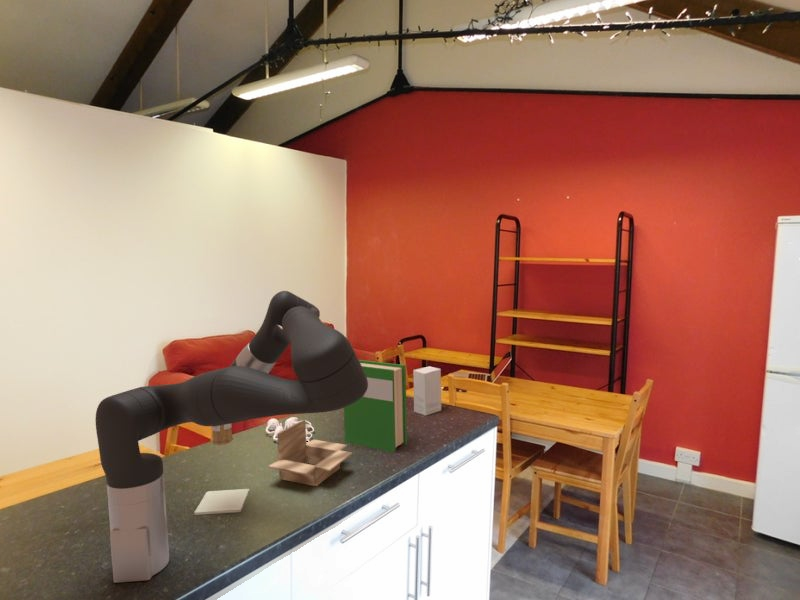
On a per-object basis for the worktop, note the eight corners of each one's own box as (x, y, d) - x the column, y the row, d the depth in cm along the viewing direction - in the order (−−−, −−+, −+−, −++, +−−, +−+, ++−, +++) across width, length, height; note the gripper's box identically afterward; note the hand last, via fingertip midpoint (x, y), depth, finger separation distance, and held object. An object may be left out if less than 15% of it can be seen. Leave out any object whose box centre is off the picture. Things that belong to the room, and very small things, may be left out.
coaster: (240, 512, 113) (240, 509, 113) (194, 515, 112) (194, 512, 112) (249, 491, 123) (249, 488, 123) (207, 493, 122) (207, 491, 122)
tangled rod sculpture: (322, 446, 154) (323, 433, 153) (275, 451, 148) (275, 438, 147) (306, 425, 171) (306, 414, 171) (262, 429, 165) (263, 417, 165)
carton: (360, 464, 137) (359, 421, 136) (320, 496, 119) (319, 447, 118) (313, 456, 143) (311, 415, 142) (269, 485, 126) (267, 438, 124)
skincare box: (430, 407, 186) (429, 365, 185) (442, 411, 181) (442, 368, 180) (413, 412, 181) (412, 369, 179) (425, 416, 176) (424, 372, 174)
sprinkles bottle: (235, 442, 115) (231, 384, 114) (214, 447, 113) (210, 388, 112) (230, 437, 119) (226, 381, 118) (209, 441, 117) (206, 384, 115)
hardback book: (407, 443, 151) (405, 365, 149) (393, 452, 145) (392, 370, 142) (359, 433, 160) (357, 359, 158) (344, 441, 154) (342, 364, 152)
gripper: (239, 386, 103) (199, 436, 109) (283, 370, 116) (245, 416, 122) (218, 359, 104) (180, 410, 111) (264, 346, 117) (227, 393, 124)
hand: (214, 413), depth 116 cm, fingers closed on sprinkles bottle, 4 cm apart
